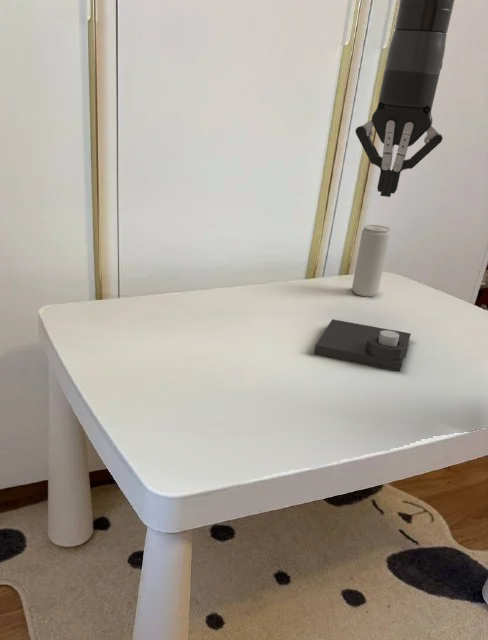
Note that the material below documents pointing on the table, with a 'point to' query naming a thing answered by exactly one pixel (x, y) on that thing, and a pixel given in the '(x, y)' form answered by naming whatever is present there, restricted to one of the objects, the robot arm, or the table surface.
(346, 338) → the scale
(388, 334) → the button
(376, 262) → the beverage can
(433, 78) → the robot arm
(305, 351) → the table surface
